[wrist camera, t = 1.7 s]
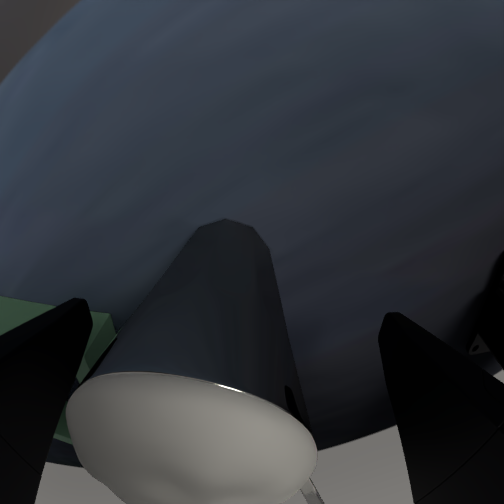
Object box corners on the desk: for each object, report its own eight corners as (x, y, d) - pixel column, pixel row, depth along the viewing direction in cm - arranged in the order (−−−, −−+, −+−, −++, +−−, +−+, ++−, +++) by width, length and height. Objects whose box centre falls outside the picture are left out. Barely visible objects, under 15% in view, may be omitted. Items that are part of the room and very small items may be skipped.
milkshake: (282, 324, 13) (295, 569, 4) (160, 289, 12) (60, 524, 3) (326, 230, 11) (441, 524, 2) (183, 185, 10) (-24, 450, 1)
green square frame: (110, 313, 13) (83, 356, 10) (150, 428, 17) (140, 463, 15) (-16, 292, 13) (-43, 319, 10) (38, 398, 17) (23, 424, 15)
